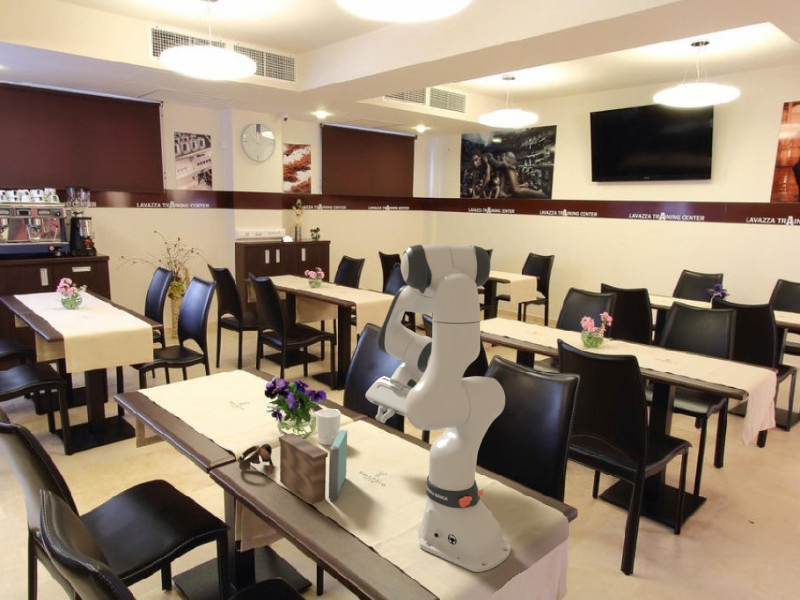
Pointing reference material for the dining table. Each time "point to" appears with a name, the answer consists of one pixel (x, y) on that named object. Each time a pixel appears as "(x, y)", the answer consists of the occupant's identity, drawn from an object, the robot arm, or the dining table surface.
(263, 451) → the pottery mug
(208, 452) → the dining table surface
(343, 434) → the teal square slab
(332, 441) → the white cup
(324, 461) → the wooden board
